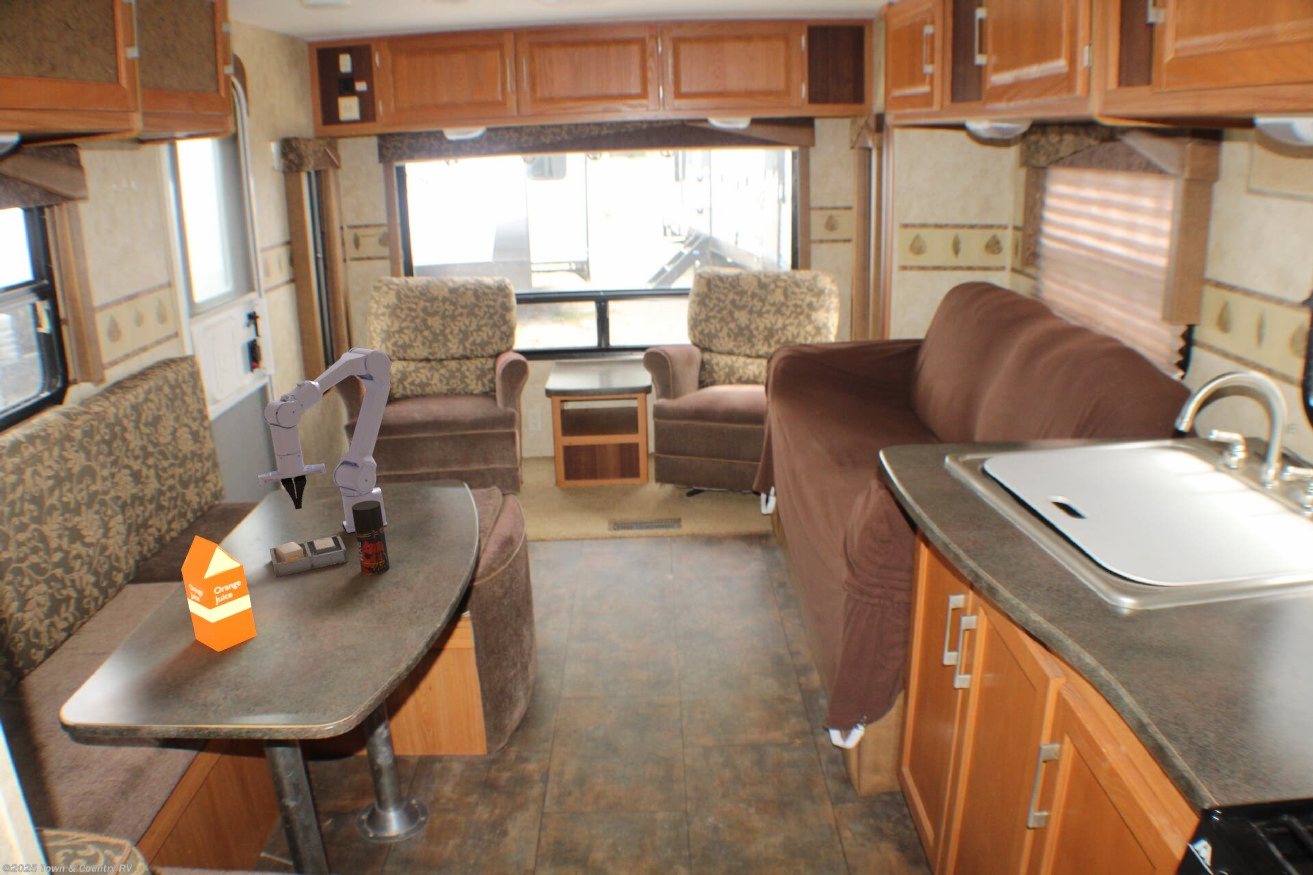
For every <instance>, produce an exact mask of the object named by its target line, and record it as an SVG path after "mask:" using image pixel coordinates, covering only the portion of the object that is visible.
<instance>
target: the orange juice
mask: <svg viewBox="0 0 1313 875" xmlns="http://www.w3.org/2000/svg"><path fill="white" fill-rule="evenodd" d="M180 571H181V573H182V578H183V582H184V587H185V591H186V592H185V593H186V598H187V602H188V608H189V611H190V615H191V621H192V625H193V629H194V635H195V640H197V641H199V642H200V643H202V644H204V645H205V646H208V647H209V648H211V649H213V650H215V651H216V652H221V651H223V650H226V649H228V648H231V647H233V646H236V645H238V644H241V643H242V642H246V641H247V640H249V639H252V638H254V637H257V632H256V626H255V625H256V624H255V621H254V615H253V610H252V604H251V600H250V599H251V598H250V597H251V596H250V594H249V589H248V585H247V584H248V583H247V579H246V575H245V573H246V572H245V567H244V565H243V564H241V563H240V562H239V561H238V560H236V559H235V558H234V557H233V556H231V554H229V553H228V552H226V551H225V550H224V549H222V548H221V547H220V546H219V544H218V543H215V542H213V541H211V540H208V539H205V538H203V537H200V536H198V535H195V536H194V539H193V541H192V542H191V546H190V548H189V551H188V553H187V555H186V558H185V560H184V562H183V564H182V567H181V569H180Z"/></svg>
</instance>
